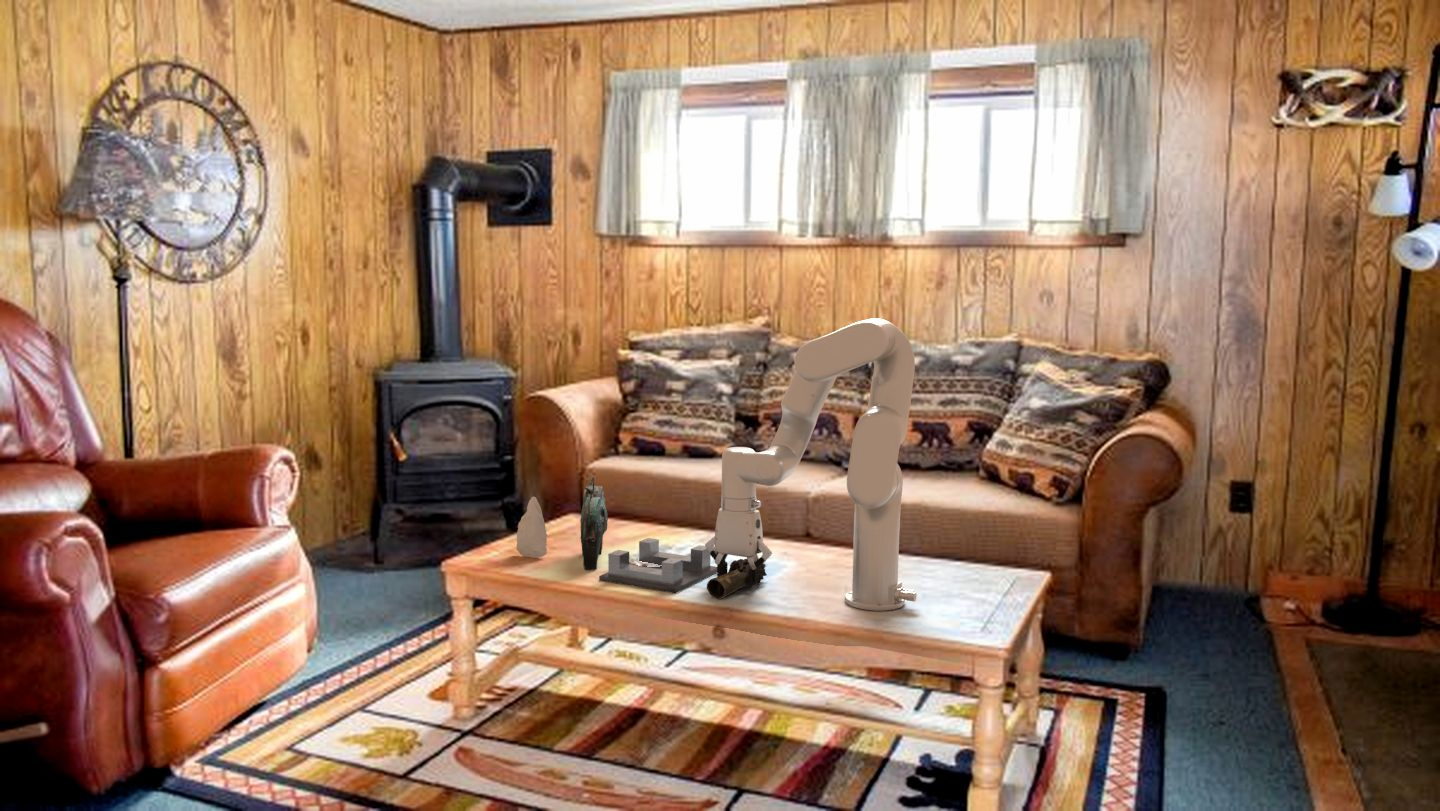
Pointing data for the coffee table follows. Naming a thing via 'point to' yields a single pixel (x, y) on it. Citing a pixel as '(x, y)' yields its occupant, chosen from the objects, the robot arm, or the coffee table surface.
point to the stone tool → (532, 532)
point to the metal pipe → (732, 579)
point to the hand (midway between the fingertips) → (737, 582)
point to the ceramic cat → (592, 524)
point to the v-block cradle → (659, 568)
